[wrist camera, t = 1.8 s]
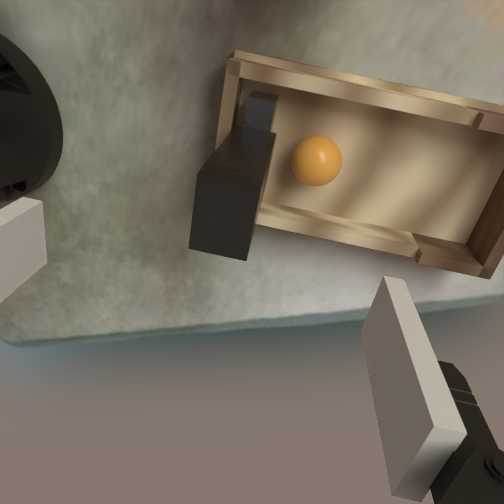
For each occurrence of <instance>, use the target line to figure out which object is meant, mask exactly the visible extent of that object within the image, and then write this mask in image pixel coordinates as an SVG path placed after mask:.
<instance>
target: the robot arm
mask: <svg viewBox="0 0 504 504" xmlns="http://www.w3.org/2000/svg"><path fill="white" fill-rule="evenodd" d="M62 143H63V132H62V123H61V117H60V113H59V110H58V106H57V103H56V101H55V98H54V96H53V93H52V91H51V89H50V87H49V86H48V84H47V82H46V80H45V79H44V77H43V76H42V74H41V73H40V71H39V70H38V68H37V67H36V66H35V65H34V63H33V62H32V61H31V60H30V59H29V58H28V56H27V55H26V54H25V53H24V52H23V51H22V50H21V49H19V48H18V47H17V46H16V45H15V44H14V43H12V42H11V41H10V40H8V39H7V38H5V37H4V36H2V35H1V34H0V202H5V201H10V200H13V199H16V198H19V197H21V196H23V195H25V194H27V193H29V192H31V191H32V190H34V189H36V188H38V187H39V186H41V185H42V184H43V183H45V182H46V181H47V180H48V179H49V177H50V176H51V175H52V173H53V172H54V170H55V168H56V167H57V164H58V162H59V159H60V155H61V151H62ZM46 263H47V253H46V240H45V227H44V214H43V201H40V200H35V199H31V198H26V197H22V198H20V199H18V200H16V201H14V202H13V203H11V204H9V205H7V206H5V207H3V208H2V209H0V303H1V302H2V301H3V300H5V299H6V298H7V297H8V296H9V295H10V294H12V293H13V292H14V291H15V290H16V289H17V288H19V287H20V286H21V285H22V284H23V283H24V282H26V281H27V280H28V279H29V278H30V277H31V276H33V275H34V274H35V273H36V272H37V271H38V270H39V269H41V268H42V267H43V266H44V265H45V264H46ZM361 336H362V341H363V346H364V352H365V357H366V361H367V367H368V372H369V378H370V383H371V388H372V394H373V399H374V404H375V409H376V415H377V420H378V425H379V430H380V435H381V440H382V446H383V451H384V456H385V462H386V467H387V472H388V477H389V483H390V488H391V493H392V495H393V496H397V497H401V498H406V499H410V500H414V501H418V502H421V501H422V500H423V498H424V497H425V495H426V494H427V492H428V491H429V489H431V493H432V497H433V500H434V504H504V452H503V451H501V450H500V449H499V448H498V446H497V444H496V442H495V440H494V438H493V436H492V434H491V431H490V429H489V428H488V425H487V423H486V421H485V419H484V417H483V415H482V413H481V411H480V408H479V407H477V402H476V400H475V398H474V396H473V395H472V394H471V393H472V391H471V390H470V387H469V385H468V383H467V381H466V379H465V377H464V376H463V375H462V374H461V373H460V372H459V371H458V369H457V368H456V367H455V366H454V365H453V364H451V363H447V362H442V361H438V360H437V359H436V357H435V354H434V352H433V349H432V347H431V344H430V342H429V340H428V337H427V335H426V332H425V330H424V328H423V325H422V323H421V320H420V318H419V315H418V313H417V310H416V308H415V306H414V303H413V301H412V298H411V296H410V293H409V291H408V289H407V286H406V284H405V281H404V280H402V279H397V278H393V277H388V276H383V278H382V281H381V283H380V286H379V288H378V291H377V293H376V296H375V298H374V301H373V303H372V306H371V308H370V311H369V313H368V315H367V318H366V320H365V323H364V325H363V328H362V330H361Z"/></svg>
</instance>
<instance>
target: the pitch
mask: <svg viewBox="0 0 504 504" xmlns="http://www.w3.org/2000/svg"><path fill="white" fill-rule="evenodd" d="M253 91H259V92H263V93H268V94H273V95H278V96H279V98H278V103H277V108H276V113H275V117H274V122H273V127H272V132H274V133H277V135H276V139H275V144H274V149H273V154H272V159H271V163H270V168H269V173H268V178H267V183H266V187H265V191H264V195H263V199H262V203H261V206H260V210H259V214H258V218H257V222H256V224H259V225H263V226H268V227H273V228H277V229H282V230H287V231H291V232H296V233H300V234H305V235H310V236H314V237H319V238H324V239H328V240H333V241H338V242H342V243H347V244H352V245H356V246H361V247H365V248H370V249H375V250H379V251H384V252H389V253H393V254H398V255H403V256H407V257H412V258H415V260H416V262H417V264H420V265H425V266H430V267H434V268H439V269H443V270H448V271H453V272H457V273H462V274H467V275H471V276H476V277H481V278H485V279H490V278H491V276H492V275H493V273H494V271H495V269H496V268H497V266H498V264H499V262H500V260H501V259H502V257H503V255H504V106H502V105H498V104H493V103H488V102H483V101H479V100H474V99H469V98H464V97H459V96H455V95H450V94H445V93H440V92H436V91H431V90H426V89H421V88H417V87H412V86H407V85H402V84H397V83H393V82H388V81H383V80H378V79H374V78H369V77H364V76H359V75H355V74H350V73H345V72H340V71H335V70H331V69H326V68H321V67H316V66H312V65H307V64H302V63H297V62H293V61H288V60H283V59H278V58H273V57H269V56H264V55H259V54H254V53H250V52H245V51H240V50H235V53H234V57H233V58H229V59H227V65H226V73H225V80H224V87H223V94H222V102H221V109H220V116H219V123H218V131H217V138H216V145H215V151H216V149H217V148H218V147H219V145H220V144H221V143H222V142H223V140H224V139H225V138H226V137H227V135H228V134H229V133H230V132H231V130H232V129H233V128H234V127H235V125H241V126H243V122H244V116H245V110H246V104H247V98H248V96H249V95H250V94H251V93H252V92H253ZM313 135H322V136H326V137H328V138H330V139H332V140H333V141H334V142H335V143H336V144H337V146H338V147H339V149H340V151H341V155H342V165H341V169H340V171H339V173H338V175H337V176H336V177H335V179H334V180H332V181H331V182H330V183H328V184H326V185H323V186H318V187H313V186H308V185H306V184H304V183H302V182H301V181H299V180H298V179H297V177H296V176H295V174H294V173H293V170H292V166H291V157H292V154H293V151H294V149H295V147H296V146H297V145H298V143H299V142H300V141H302V140H303V139H305V138H307V137H309V136H313Z"/></svg>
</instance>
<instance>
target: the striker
mask: <svg viewBox="0 0 504 504" xmlns="http://www.w3.org/2000/svg"><path fill="white" fill-rule="evenodd" d="M278 98H279V96H278V95H273V94H268V93H263V92H259V91H253V92H252V93H251V94H250V95H249V96H248V98H247V104H246V110H245V116H244V122H243V126H241V125H235V127H234V128H233V129H232V130H231V132H230V133H229V134H228V135H227V137H226V138H225V139H224V140H223V142H222V143H221V144H220V145H219V147H218V148H217V149H216V151H215V152H214V153H213V154H212V156H211V157H210V158H209V159H208V161H207V162H206V163H205V164H204V166H203V167H202V168H201V169H200V171H199V172H198V174H197V182H196V190H195V199H194V207H193V215H192V224H191V232H190V240H189V249H193V250H197V251H202V252H206V253H211V254H216V255H220V256H225V257H229V258H234V259H239V260H243V261H247V257H248V253H249V249H250V245H251V241H252V238H253V234H254V230H255V226H256V222H257V218H258V214H259V210H260V206H261V203H262V199H263V195H264V191H265V187H266V183H267V178H268V173H269V168H270V163H271V159H272V154H273V149H274V144H275V139H276V135H277V133H274V132H272V127H273V122H274V117H275V113H276V108H277V103H278Z"/></svg>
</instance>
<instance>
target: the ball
mask: <svg viewBox="0 0 504 504" xmlns="http://www.w3.org/2000/svg"><path fill="white" fill-rule="evenodd" d="M341 165H342V155H341V151H340V149H339V147H338V146H337V144H336V143H335V142H334V141H333V140H332V139H330V138H328V137H326V136H322V135H313V136H309V137H307V138H305V139H303V140H302V141H300V142H299V143H298V145H297V146H296V147H295V149H294V151H293V154H292V157H291V166H292V170H293V173H294V174H295V176H296V177H297V179H298V180H299V181H301V182H302V183H304V184H306V185H308V186H313V187H318V186H323V185H326V184H328V183H330V182H331V181H332V180H334V179H335V177H336V176H337V175H338V173H339V171H340V169H341Z"/></svg>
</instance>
